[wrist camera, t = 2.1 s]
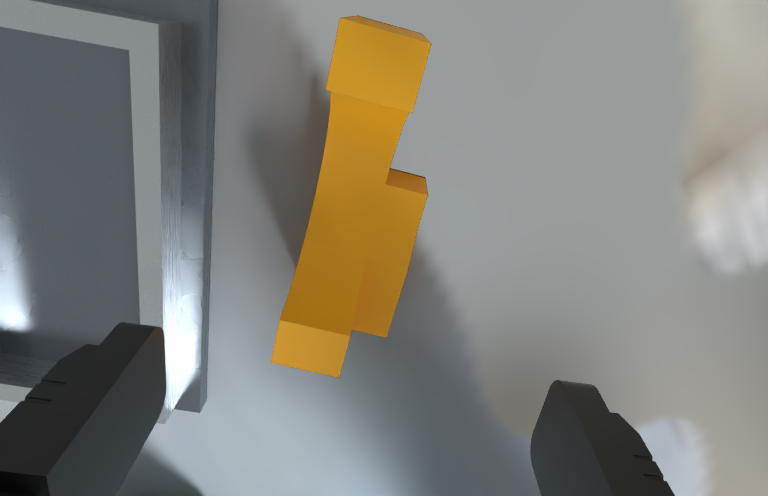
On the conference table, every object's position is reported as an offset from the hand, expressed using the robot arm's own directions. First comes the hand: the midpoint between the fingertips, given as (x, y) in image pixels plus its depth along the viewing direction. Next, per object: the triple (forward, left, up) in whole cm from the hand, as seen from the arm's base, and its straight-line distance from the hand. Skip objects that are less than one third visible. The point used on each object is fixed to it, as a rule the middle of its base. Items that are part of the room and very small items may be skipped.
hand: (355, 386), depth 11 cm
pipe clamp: (0, 0, -14) cm, 14 cm away
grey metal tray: (+13, +4, -13) cm, 19 cm away
